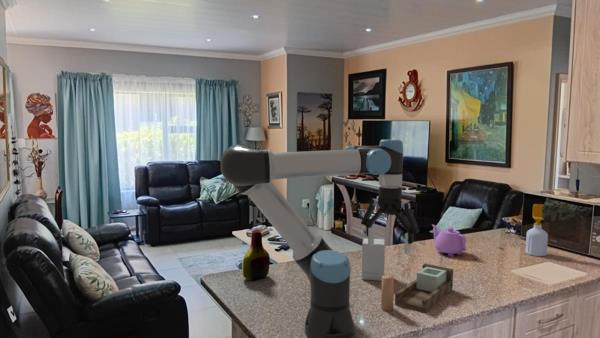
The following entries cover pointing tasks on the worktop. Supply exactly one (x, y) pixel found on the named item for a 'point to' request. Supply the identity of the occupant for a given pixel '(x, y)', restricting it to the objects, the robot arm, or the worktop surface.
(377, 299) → the worktop surface
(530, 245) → the soap bottle
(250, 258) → the bottle
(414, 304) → the brown long open box
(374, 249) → the supplement box
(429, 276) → the socket block
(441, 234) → the teapot
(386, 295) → the dowel
